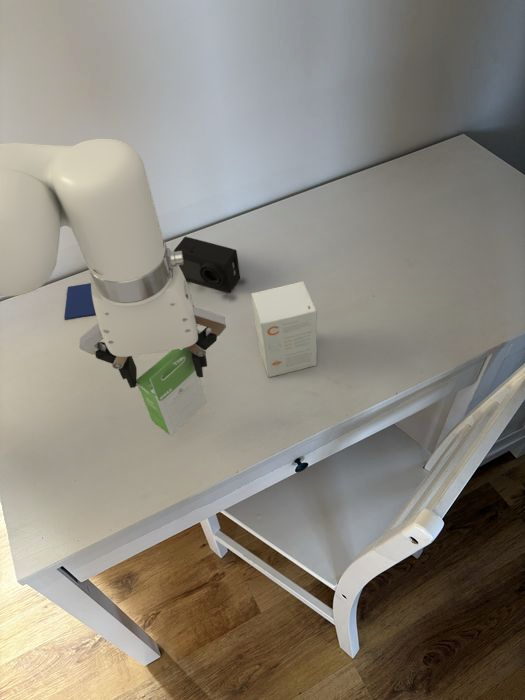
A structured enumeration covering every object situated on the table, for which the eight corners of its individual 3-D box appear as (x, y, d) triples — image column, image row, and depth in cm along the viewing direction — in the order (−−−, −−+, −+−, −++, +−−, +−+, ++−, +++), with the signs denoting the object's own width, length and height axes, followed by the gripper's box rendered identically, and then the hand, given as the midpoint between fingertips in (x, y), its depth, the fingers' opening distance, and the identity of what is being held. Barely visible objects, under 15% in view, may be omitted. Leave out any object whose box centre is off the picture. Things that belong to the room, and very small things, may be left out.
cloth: (64, 320, 94) (64, 318, 94) (68, 288, 99) (67, 286, 99) (166, 303, 95) (165, 302, 95) (164, 272, 100) (164, 271, 100)
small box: (305, 336, 88) (304, 279, 78) (317, 366, 84) (317, 310, 74) (257, 348, 87) (250, 292, 77) (267, 378, 83) (261, 324, 73)
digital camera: (176, 283, 98) (168, 255, 92) (191, 264, 101) (184, 235, 95) (227, 298, 95) (221, 269, 89) (240, 278, 97) (236, 249, 92)
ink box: (188, 388, 76) (170, 326, 65) (208, 403, 74) (192, 342, 64) (151, 421, 73) (126, 362, 62) (171, 437, 71) (148, 380, 61)
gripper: (215, 232, 55) (232, 339, 69) (45, 255, 54) (97, 360, 68) (223, 282, 50) (239, 387, 64) (37, 309, 50) (95, 409, 64)
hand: (166, 372), depth 66 cm, fingers closed on ink box, 7 cm apart
